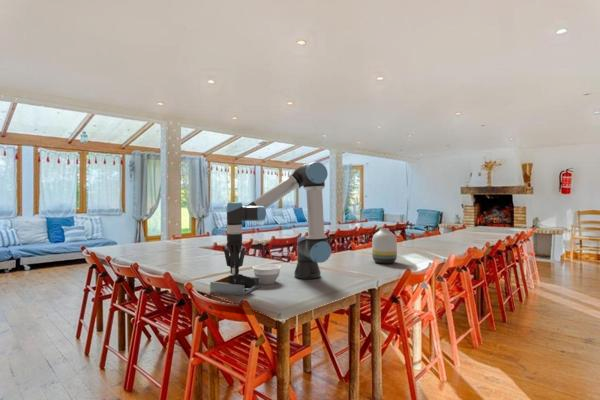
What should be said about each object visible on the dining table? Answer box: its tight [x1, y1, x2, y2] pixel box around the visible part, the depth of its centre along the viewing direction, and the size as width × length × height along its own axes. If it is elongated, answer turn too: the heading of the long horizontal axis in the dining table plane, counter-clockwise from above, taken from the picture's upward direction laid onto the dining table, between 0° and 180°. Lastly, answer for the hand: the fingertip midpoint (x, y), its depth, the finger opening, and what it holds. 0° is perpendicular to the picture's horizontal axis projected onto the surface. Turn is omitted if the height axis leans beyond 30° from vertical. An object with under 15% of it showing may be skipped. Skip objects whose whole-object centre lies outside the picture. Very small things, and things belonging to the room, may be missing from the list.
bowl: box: [251, 263, 282, 285], centre depth 187 cm, size 16×16×8 cm
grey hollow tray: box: [209, 274, 261, 297], centre depth 172 cm, size 18×17×5 cm
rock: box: [229, 273, 255, 289], centre depth 166 cm, size 11×8×10 cm
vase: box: [371, 227, 398, 265], centre depth 245 cm, size 17×17×24 cm
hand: (234, 280), depth 172 cm, fingers closed
